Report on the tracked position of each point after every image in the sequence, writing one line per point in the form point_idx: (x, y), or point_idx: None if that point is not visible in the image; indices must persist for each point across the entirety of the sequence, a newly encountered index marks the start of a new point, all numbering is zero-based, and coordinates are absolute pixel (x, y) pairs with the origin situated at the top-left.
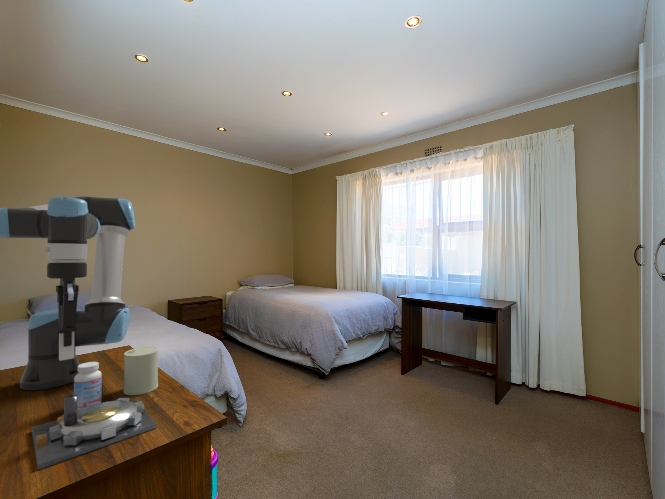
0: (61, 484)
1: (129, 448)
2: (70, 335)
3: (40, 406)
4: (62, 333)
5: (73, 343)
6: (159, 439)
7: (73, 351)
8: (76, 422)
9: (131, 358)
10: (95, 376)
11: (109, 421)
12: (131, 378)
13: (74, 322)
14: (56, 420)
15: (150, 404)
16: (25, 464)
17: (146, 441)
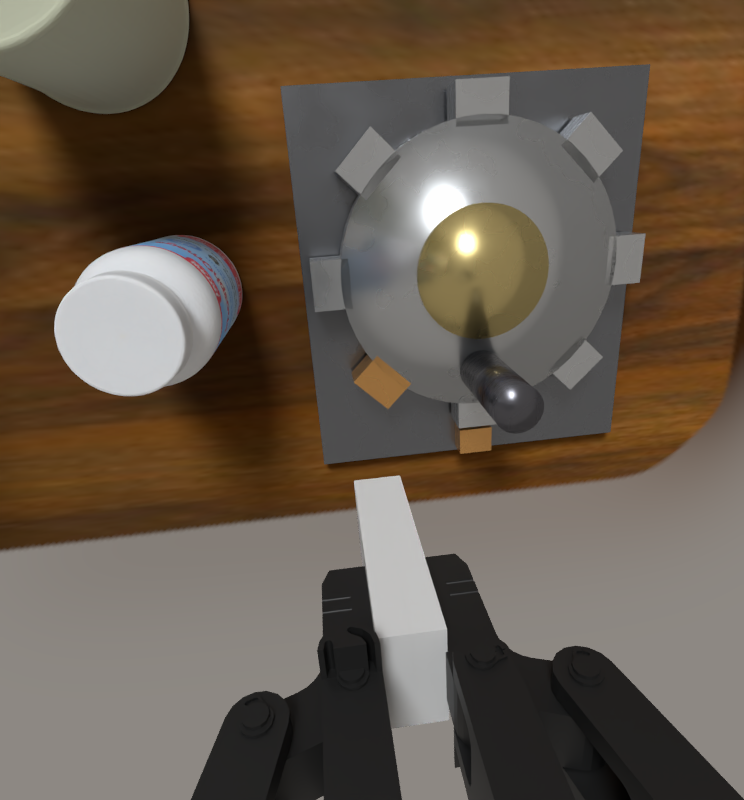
0: (721, 376)
1: (699, 197)
2: (492, 631)
3: (74, 449)
4: (445, 701)
5: (421, 548)
6: (732, 86)
7: (408, 507)
8: (494, 354)
9: (78, 12)
10: (202, 287)
11: (575, 247)
12: (136, 57)
13: (679, 746)
14: (320, 400)
15: (371, 20)
16: (543, 452)
17: (704, 134)
